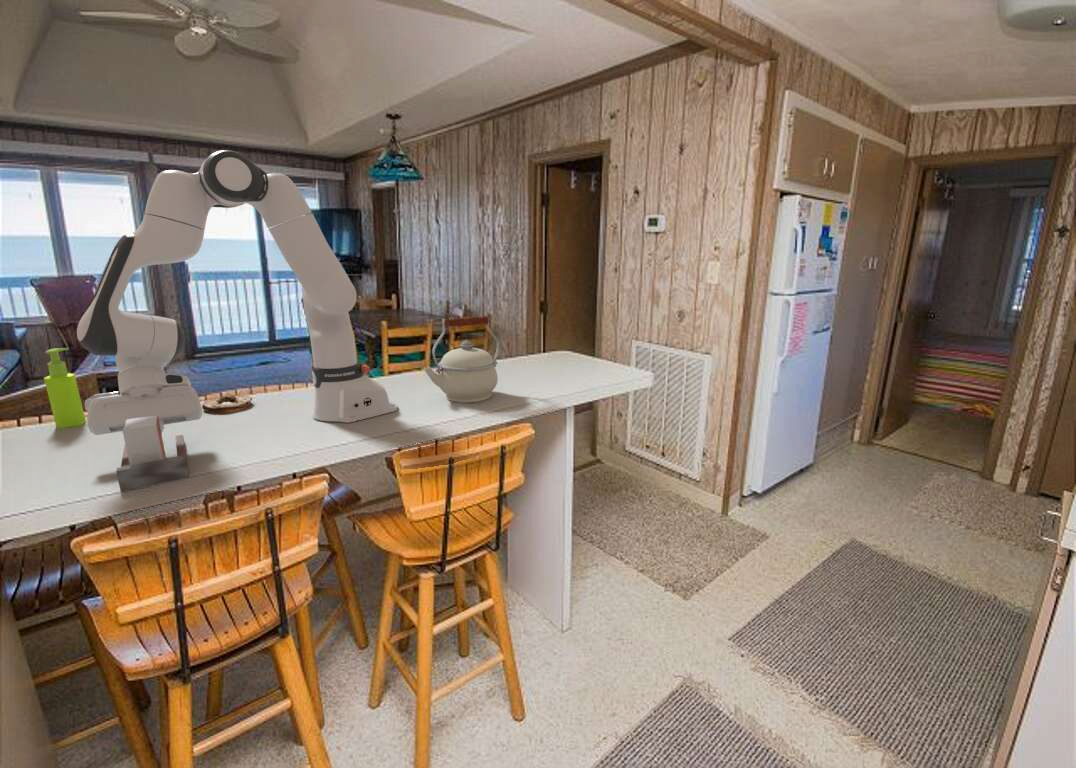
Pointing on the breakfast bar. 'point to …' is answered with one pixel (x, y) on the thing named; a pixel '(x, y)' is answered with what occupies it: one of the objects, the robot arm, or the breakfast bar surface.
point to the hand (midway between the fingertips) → (151, 442)
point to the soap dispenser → (63, 393)
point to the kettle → (465, 367)
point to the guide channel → (153, 469)
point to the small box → (143, 440)
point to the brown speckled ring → (227, 404)
